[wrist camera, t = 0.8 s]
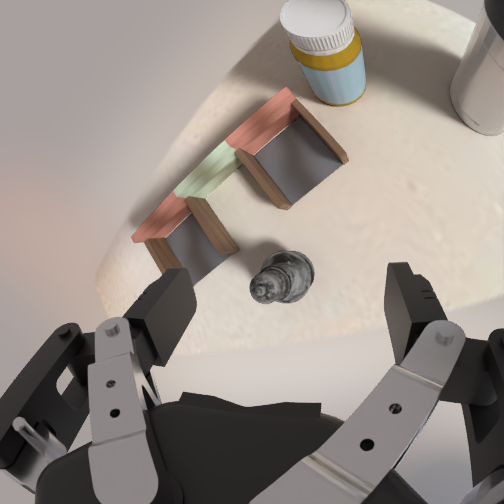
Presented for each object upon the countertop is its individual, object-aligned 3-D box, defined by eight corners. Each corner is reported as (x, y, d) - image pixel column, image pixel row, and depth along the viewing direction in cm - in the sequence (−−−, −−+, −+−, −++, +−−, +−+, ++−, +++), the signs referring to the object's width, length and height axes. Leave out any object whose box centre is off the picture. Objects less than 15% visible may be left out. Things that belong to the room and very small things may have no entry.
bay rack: (299, 106, 34) (286, 86, 29) (348, 160, 33) (344, 147, 27) (158, 235, 44) (130, 236, 38) (190, 288, 42) (165, 296, 37)
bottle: (370, 105, 31) (364, 36, 17) (315, 111, 34) (278, 48, 20) (360, 59, 31) (345, -17, 17) (308, 65, 33) (270, -5, 20)
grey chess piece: (291, 306, 37) (255, 338, 26) (261, 270, 38) (213, 287, 27) (326, 275, 35) (305, 297, 24) (294, 238, 36) (258, 243, 25)
